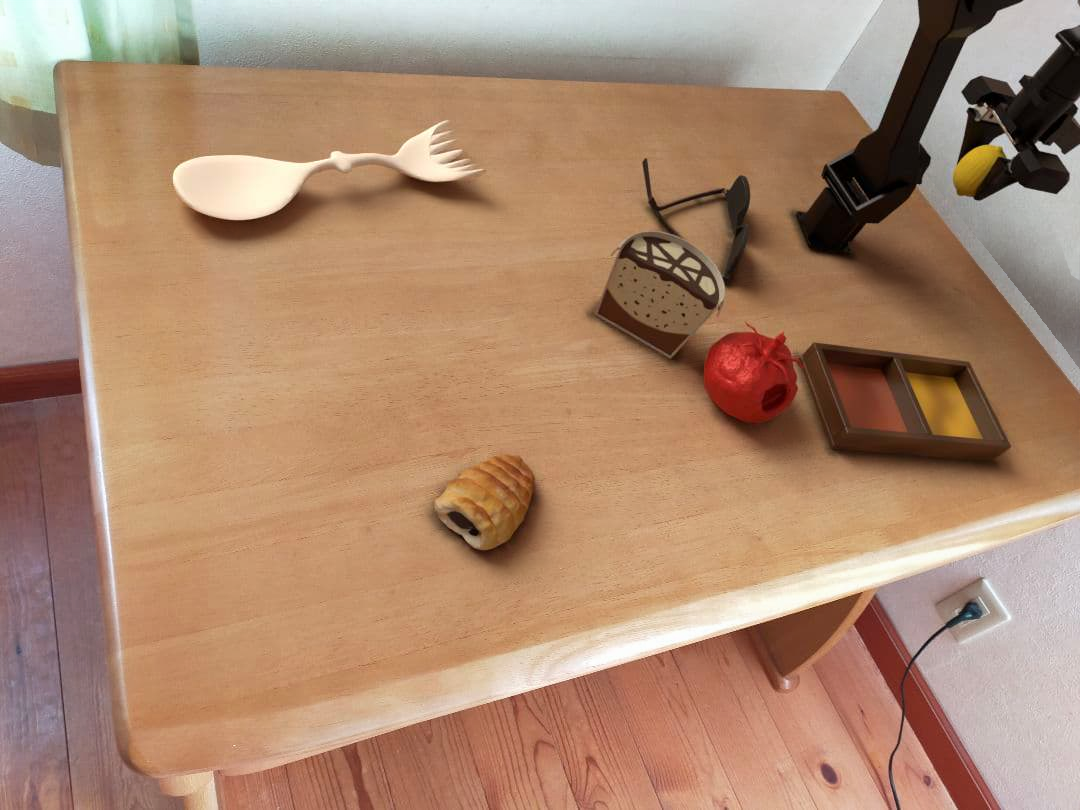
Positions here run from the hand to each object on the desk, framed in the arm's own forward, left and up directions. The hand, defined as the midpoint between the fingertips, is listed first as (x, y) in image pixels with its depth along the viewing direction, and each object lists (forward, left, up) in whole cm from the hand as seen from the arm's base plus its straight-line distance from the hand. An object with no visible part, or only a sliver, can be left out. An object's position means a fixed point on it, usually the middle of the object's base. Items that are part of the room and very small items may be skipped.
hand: (967, 184), depth 116 cm
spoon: (-81, -9, -10) cm, 82 cm away
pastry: (-68, -46, -10) cm, 83 cm away
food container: (-48, -22, -10) cm, 54 cm away
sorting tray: (-18, -31, -10) cm, 37 cm away
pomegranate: (-39, -31, -10) cm, 51 cm away
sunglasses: (-39, -5, -10) cm, 40 cm away
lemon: (0, 0, -2) cm, 2 cm away
